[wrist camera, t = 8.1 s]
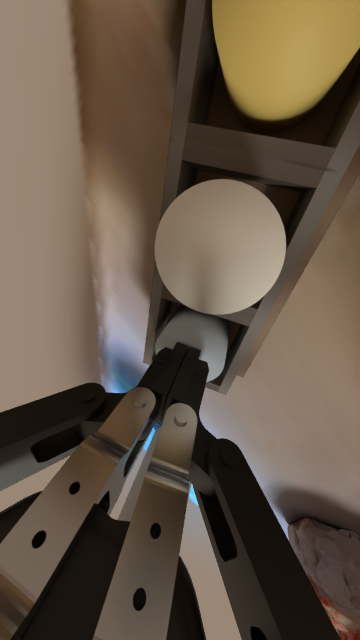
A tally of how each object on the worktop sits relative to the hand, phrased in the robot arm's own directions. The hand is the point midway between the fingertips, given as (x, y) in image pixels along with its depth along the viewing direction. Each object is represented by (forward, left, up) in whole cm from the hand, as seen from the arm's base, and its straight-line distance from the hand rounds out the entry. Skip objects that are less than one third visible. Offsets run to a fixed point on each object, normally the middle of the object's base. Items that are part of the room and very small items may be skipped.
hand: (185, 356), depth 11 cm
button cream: (-4, -5, -1) cm, 7 cm away
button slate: (0, 0, -3) cm, 3 cm away
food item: (-8, +38, -6) cm, 40 cm away
